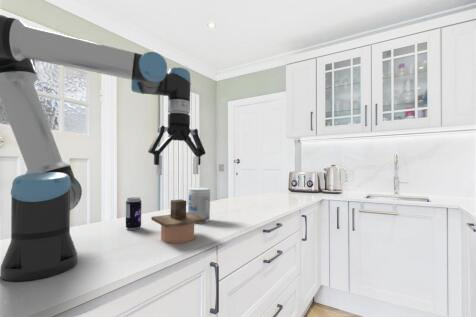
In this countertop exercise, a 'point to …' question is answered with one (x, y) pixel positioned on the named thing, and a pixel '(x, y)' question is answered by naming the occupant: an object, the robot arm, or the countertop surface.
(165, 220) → the walnut lid
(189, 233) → the terracotta bowl
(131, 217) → the beverage can
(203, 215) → the supplement tub
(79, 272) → the countertop surface
